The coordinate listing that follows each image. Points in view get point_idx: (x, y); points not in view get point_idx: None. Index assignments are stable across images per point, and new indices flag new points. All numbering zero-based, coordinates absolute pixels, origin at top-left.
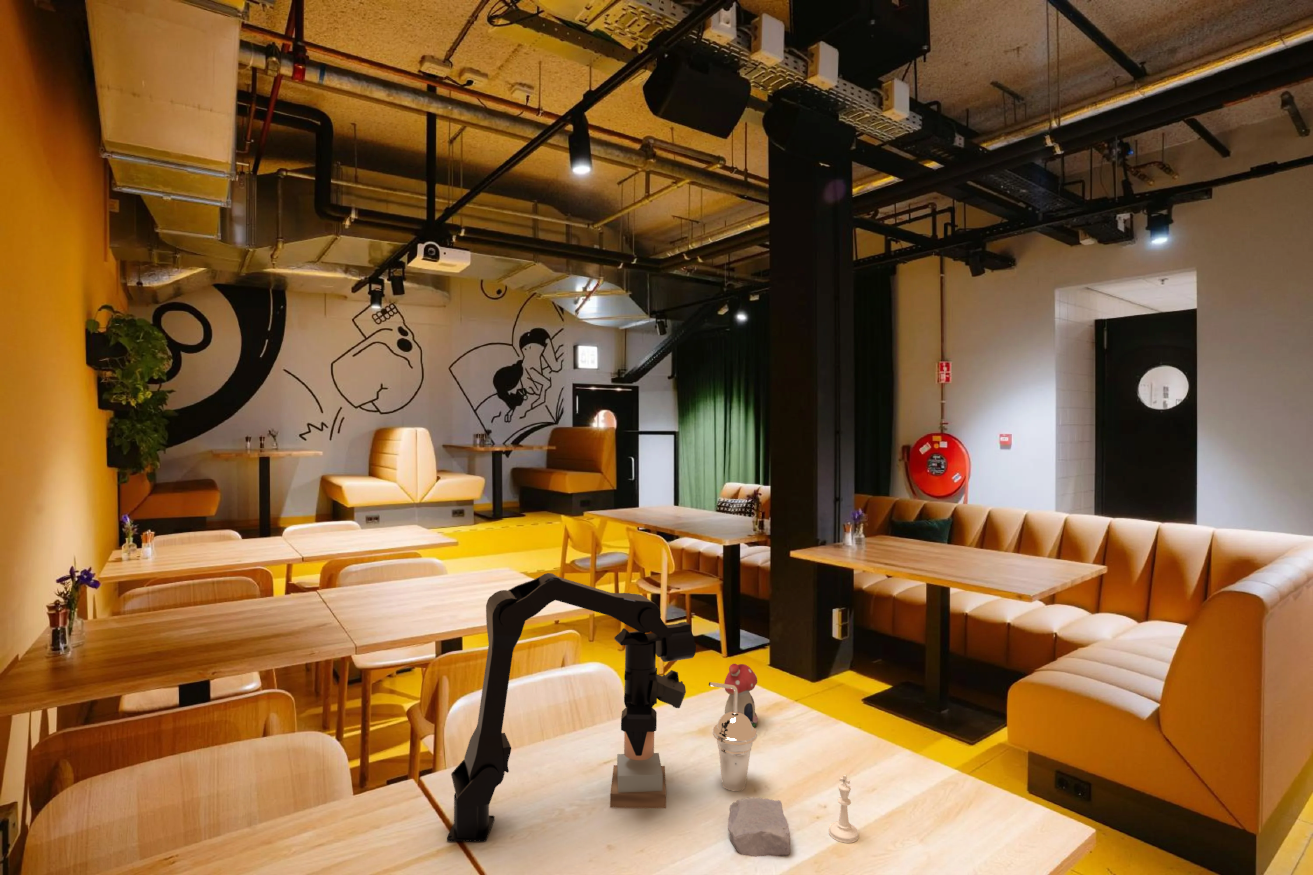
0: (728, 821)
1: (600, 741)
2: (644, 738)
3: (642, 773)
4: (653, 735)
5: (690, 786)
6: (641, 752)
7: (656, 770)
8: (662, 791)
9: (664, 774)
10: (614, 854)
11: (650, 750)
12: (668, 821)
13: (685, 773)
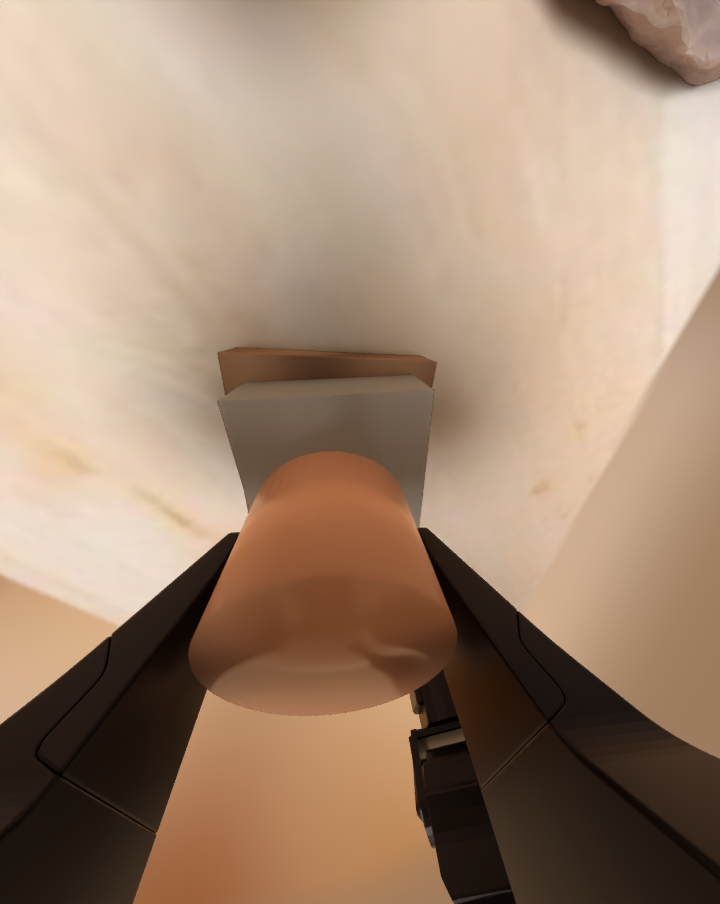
0: (686, 40)
1: (58, 543)
2: (540, 636)
3: (412, 471)
4: (378, 544)
5: (285, 233)
6: (438, 541)
7: (395, 416)
8: (414, 374)
9: (292, 359)
10: (567, 479)
11: (392, 492)
12: (491, 351)
13: (178, 244)
